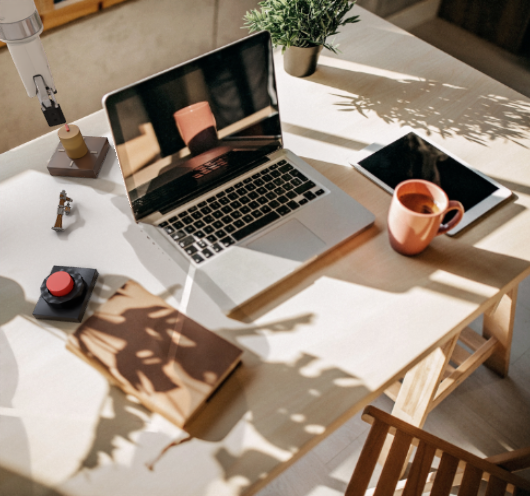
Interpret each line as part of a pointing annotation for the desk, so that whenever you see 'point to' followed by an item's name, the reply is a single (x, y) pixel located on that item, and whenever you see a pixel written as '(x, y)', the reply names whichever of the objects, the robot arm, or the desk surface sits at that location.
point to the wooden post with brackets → (62, 210)
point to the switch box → (67, 296)
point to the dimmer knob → (72, 141)
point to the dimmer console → (80, 159)
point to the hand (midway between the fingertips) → (53, 109)
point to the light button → (60, 283)
